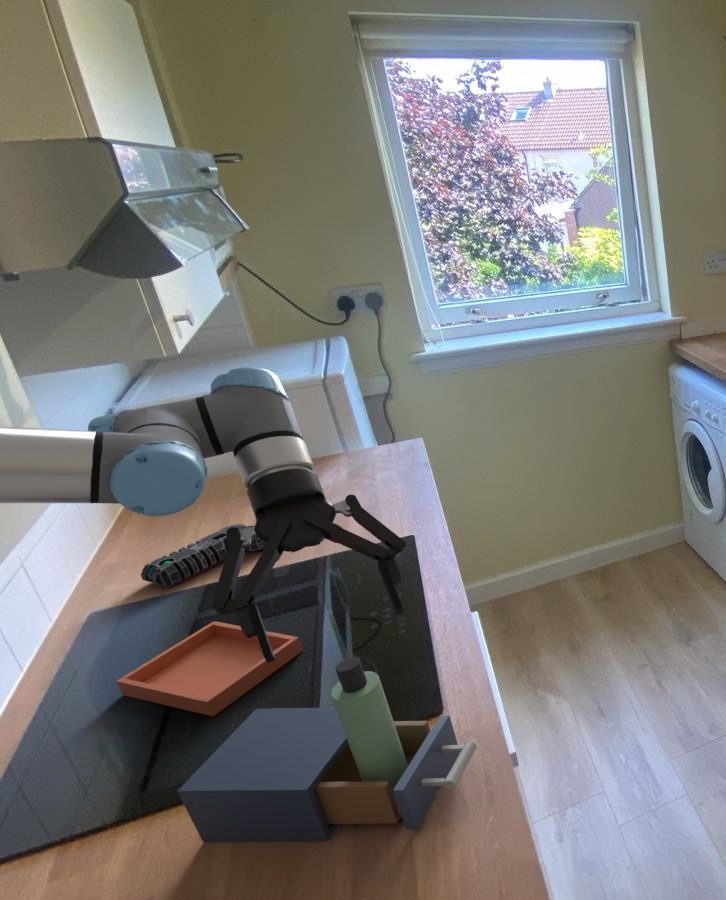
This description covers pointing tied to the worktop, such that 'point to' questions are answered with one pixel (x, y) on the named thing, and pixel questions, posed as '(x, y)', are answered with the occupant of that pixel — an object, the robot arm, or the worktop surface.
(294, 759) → the cabinet
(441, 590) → the worktop surface
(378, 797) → the drawer
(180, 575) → the sci-fi power cell
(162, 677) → the tray
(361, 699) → the green bottle
